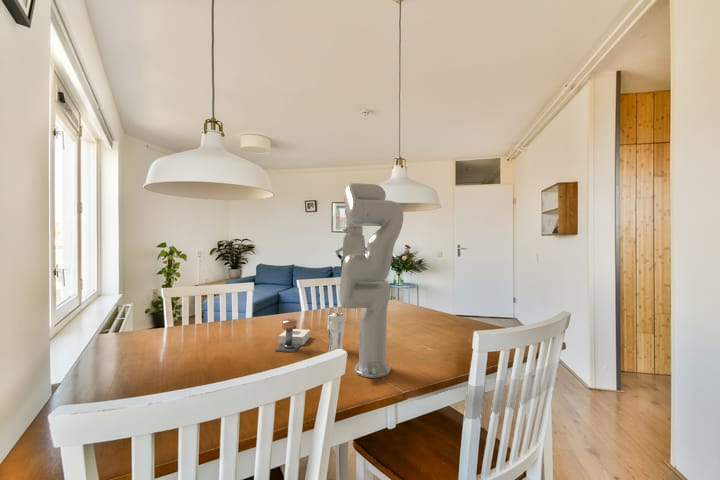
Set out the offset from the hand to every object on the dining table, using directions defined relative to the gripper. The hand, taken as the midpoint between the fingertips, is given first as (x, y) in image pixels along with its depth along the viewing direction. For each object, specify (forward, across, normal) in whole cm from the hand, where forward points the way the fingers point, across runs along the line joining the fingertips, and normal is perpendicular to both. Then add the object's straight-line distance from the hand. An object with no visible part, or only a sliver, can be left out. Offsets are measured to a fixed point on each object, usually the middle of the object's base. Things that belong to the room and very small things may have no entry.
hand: (354, 269), depth 143 cm
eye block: (+32, -26, -6) cm, 42 cm away
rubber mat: (+32, -25, -16) cm, 44 cm away
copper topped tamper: (+32, -25, -16) cm, 43 cm away
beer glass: (+32, -5, -15) cm, 36 cm away
